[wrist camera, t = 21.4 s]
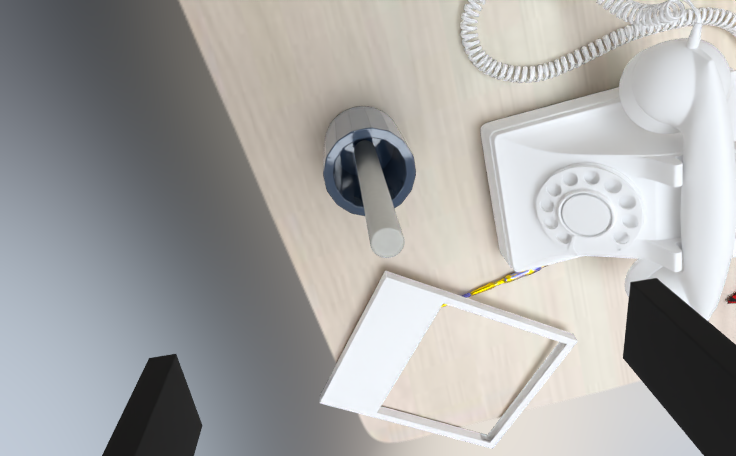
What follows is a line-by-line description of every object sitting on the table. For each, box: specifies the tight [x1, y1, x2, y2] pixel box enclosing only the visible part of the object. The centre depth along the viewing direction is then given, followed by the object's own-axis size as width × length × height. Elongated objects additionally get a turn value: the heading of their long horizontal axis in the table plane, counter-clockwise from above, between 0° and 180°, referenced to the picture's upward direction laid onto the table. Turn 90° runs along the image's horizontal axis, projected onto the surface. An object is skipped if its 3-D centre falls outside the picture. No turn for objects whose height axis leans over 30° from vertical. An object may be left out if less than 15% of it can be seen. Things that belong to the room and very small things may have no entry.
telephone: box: [460, 0, 736, 321], centre depth 32 cm, size 25×21×12 cm
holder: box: [323, 106, 416, 216], centre depth 34 cm, size 6×6×7 cm
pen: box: [441, 265, 548, 307], centre depth 43 cm, size 14×1×1 cm, turn 114°
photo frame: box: [320, 270, 578, 449], centre depth 45 cm, size 15×1×18 cm
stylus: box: [354, 140, 404, 258], centre depth 30 cm, size 2×2×16 cm
